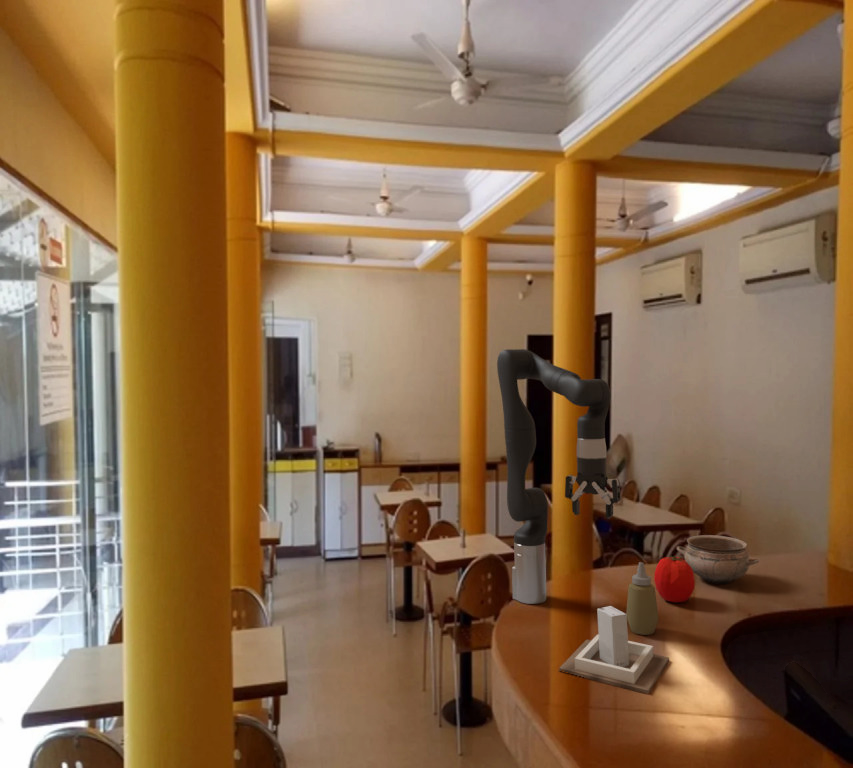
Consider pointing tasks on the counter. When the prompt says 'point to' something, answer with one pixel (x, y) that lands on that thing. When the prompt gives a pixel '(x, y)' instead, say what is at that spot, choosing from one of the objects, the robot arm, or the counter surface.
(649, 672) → the board
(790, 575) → the counter surface
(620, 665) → the skincare box
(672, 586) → the tomato
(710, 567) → the cooking pot
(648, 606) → the squeeze bottle
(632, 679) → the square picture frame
